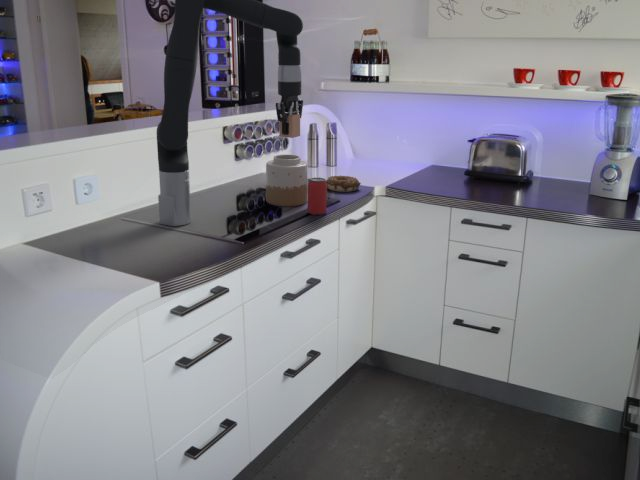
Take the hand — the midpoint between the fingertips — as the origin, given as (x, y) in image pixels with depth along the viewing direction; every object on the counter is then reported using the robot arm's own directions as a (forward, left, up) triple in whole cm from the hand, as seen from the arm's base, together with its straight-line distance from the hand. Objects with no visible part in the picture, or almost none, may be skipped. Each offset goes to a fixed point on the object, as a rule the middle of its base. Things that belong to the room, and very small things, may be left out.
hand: (289, 133), depth 198 cm
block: (0, 0, -1) cm, 1 cm away
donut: (+46, +1, -28) cm, 54 cm away
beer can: (+8, -7, -28) cm, 30 cm away
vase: (+16, +10, -28) cm, 34 cm away
